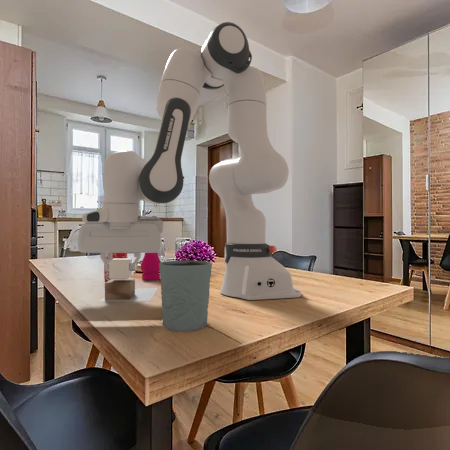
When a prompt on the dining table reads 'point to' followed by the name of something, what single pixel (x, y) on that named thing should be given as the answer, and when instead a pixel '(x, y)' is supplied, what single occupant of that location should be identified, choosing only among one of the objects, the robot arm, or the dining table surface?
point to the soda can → (110, 257)
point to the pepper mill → (150, 266)
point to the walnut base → (119, 289)
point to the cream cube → (120, 268)
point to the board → (137, 295)
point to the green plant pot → (185, 294)
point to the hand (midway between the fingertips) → (120, 270)
